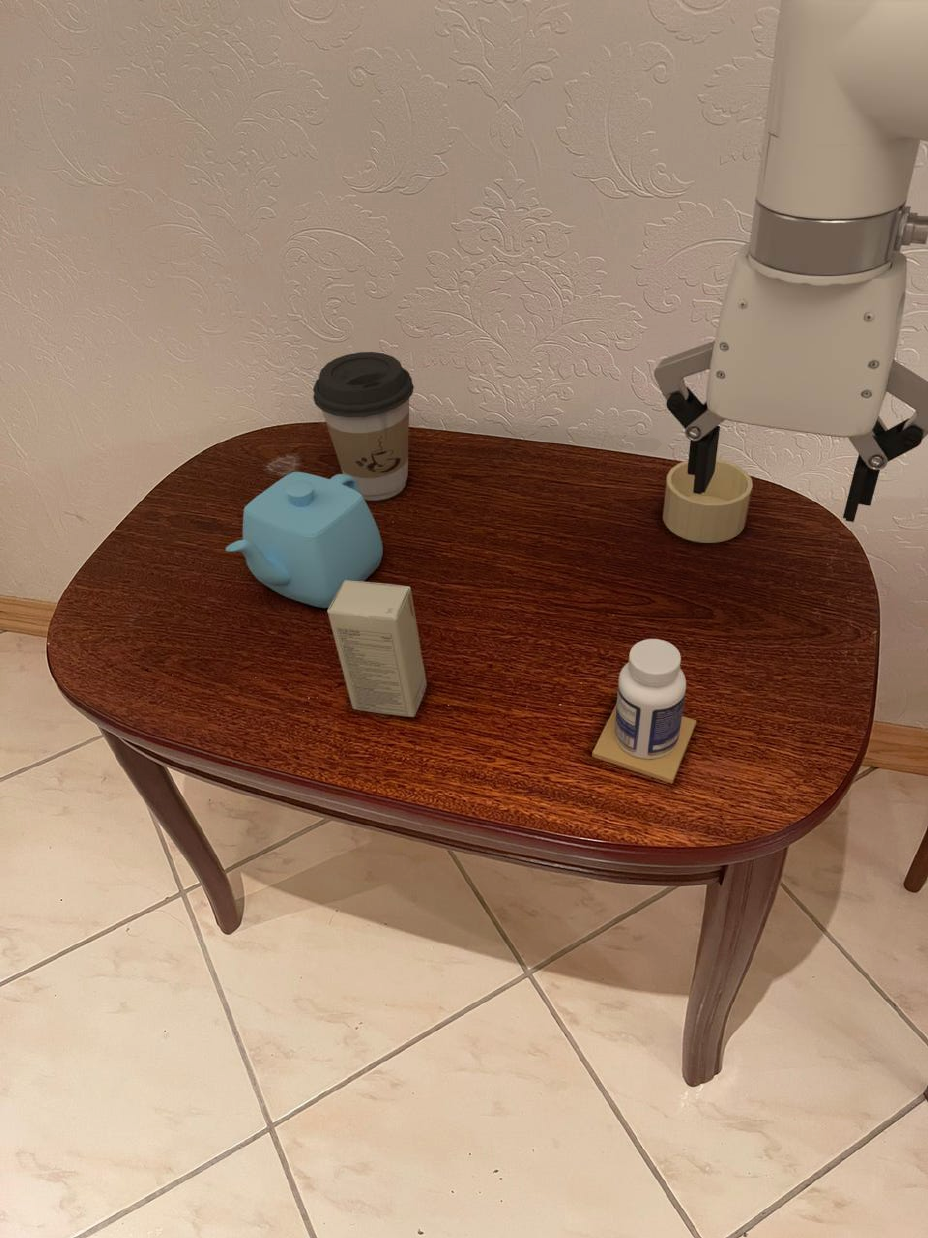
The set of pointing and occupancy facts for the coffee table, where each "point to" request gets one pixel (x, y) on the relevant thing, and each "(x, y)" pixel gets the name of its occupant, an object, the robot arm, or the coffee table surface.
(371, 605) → the cosmetic box
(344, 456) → the coffee cup
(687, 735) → the mat
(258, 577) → the teapot
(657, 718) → the pill bottle
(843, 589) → the coffee table surface
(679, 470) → the bucket
